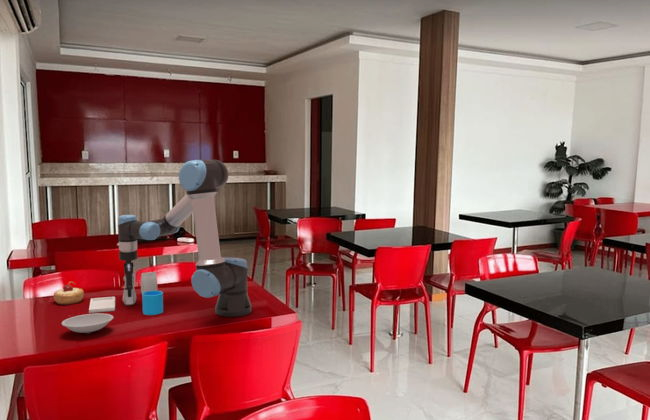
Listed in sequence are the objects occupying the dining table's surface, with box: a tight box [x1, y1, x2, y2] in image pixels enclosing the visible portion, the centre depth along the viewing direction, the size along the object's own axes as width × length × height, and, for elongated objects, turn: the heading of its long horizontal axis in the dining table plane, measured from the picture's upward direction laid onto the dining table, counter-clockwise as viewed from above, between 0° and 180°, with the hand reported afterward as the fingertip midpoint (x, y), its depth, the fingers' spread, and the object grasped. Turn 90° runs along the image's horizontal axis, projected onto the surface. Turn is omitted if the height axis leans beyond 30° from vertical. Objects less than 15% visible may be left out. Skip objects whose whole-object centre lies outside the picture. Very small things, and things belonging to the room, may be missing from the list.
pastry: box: [53, 281, 85, 306], centre depth 233 cm, size 12×12×9 cm
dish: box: [61, 312, 114, 334], centre depth 195 cm, size 18×14×5 cm
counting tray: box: [88, 296, 116, 314], centre depth 227 cm, size 17×10×2 cm, turn 21°
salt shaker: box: [122, 274, 137, 306], centre depth 231 cm, size 6×6×13 cm
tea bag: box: [140, 271, 158, 295], centre depth 248 cm, size 4×7×10 cm, turn 120°
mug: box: [141, 290, 164, 316], centre depth 222 cm, size 12×8×8 cm
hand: (129, 300), depth 231 cm, fingers open, 9 cm apart
